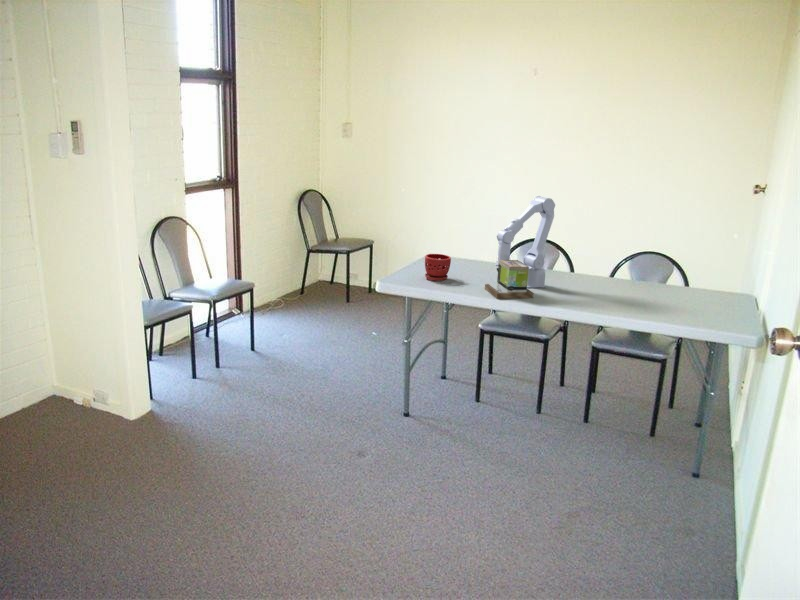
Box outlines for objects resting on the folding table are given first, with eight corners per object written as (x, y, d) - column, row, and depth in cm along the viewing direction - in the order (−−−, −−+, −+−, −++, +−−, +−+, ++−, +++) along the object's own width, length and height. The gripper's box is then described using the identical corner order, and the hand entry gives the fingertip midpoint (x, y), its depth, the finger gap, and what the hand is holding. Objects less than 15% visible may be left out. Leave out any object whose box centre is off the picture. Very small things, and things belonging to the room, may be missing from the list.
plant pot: (426, 282, 336) (427, 258, 333) (422, 276, 349) (423, 253, 346) (452, 282, 338) (453, 258, 335) (447, 275, 351) (448, 253, 347)
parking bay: (518, 288, 330) (519, 283, 329) (532, 297, 313) (533, 292, 313) (484, 289, 326) (485, 284, 326) (496, 298, 310) (497, 293, 309)
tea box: (526, 297, 314) (529, 266, 310) (506, 297, 312) (509, 266, 308) (515, 288, 328) (517, 258, 324) (495, 288, 326) (498, 259, 322)
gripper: (491, 252, 330) (489, 279, 334) (501, 258, 317) (499, 286, 320) (504, 252, 332) (502, 278, 335) (515, 258, 318) (513, 286, 322)
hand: (501, 282), depth 328 cm, fingers closed
